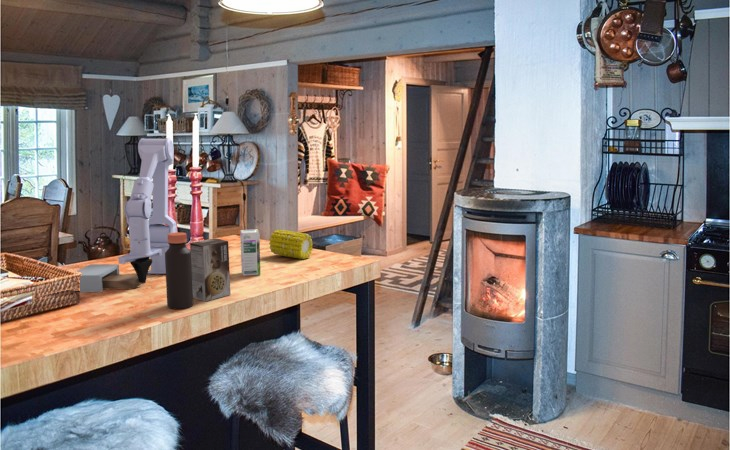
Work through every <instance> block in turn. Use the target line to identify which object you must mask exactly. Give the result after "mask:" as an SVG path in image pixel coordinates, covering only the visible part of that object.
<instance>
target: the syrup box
mask: <svg viewBox="0 0 730 450" xmlns="http://www.w3.org/2000/svg"><path fill="white" fill-rule="evenodd" d="M260 237H261V236H260V231H259V230H258V229H257V228H256V229H244V230H243V229H240V262H241V274H242V277H247V276H249V277H250V276H261V244H260V243H261V242H260V241H261V240H260Z"/></svg>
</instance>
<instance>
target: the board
mask: <svg viewBox="0 0 730 450" xmlns="http://www.w3.org/2000/svg"><path fill="white" fill-rule="evenodd" d="M141 284H142V285H143V284H144V283H139V278H138V276H137V274H120V273H119V274H107V275H105V276H104V277H102V289H107V288H109V289H110V290H111V289H113V290H114V289H115V290H117V289H119V290H135V289H137V288H138V287H140V286H141ZM136 287H137V288H136ZM134 288H135V289H134Z"/></svg>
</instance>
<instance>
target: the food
mask: <svg viewBox="0 0 730 450" xmlns="http://www.w3.org/2000/svg"><path fill="white" fill-rule="evenodd" d="M269 249H270V252H271V253H273V254H274V255H278V256H283V257H289V258H294V259H302V260H305V259H308V258H310V257H311V254H312V251H313V240H312V236H311V235H309V234H308V233H304V232H298V231H292V230H285V229H276V230H274V231H273V232H272V233H271V234H270V238H269Z"/></svg>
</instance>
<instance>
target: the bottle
mask: <svg viewBox="0 0 730 450" xmlns="http://www.w3.org/2000/svg"><path fill="white" fill-rule="evenodd" d="M187 236H188V235H187V233H186V232H178V231H177V233H170V234H168V244H169V249H168V250H167V251H166V252H165V269H166V274H165V286H166V287H165V288H166V306H167V307H168V308H169V309H171V310H184V309H189V308H191V307H192V306H193V305H194V298H193V289H192V264H191V251H190V248H188V247H187V244H188V243H187V241H188V237H187Z"/></svg>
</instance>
